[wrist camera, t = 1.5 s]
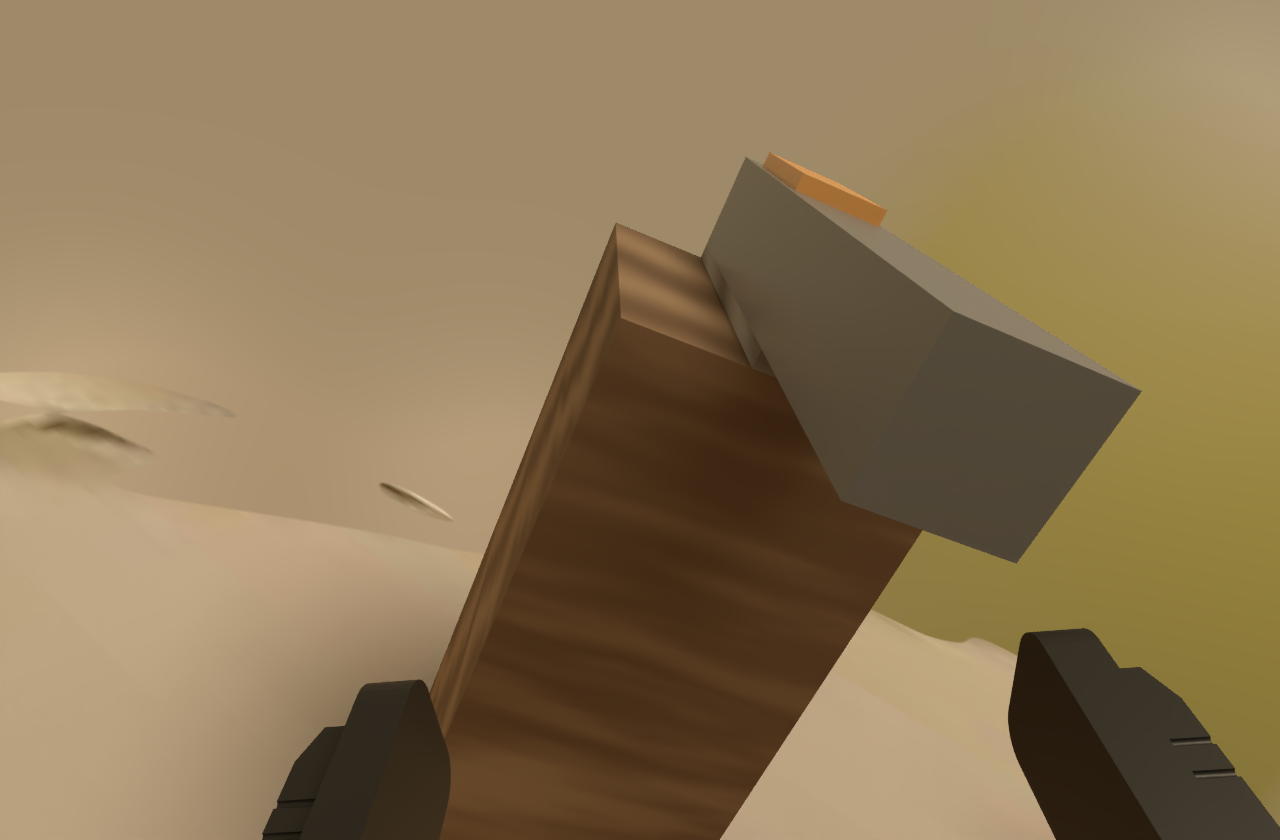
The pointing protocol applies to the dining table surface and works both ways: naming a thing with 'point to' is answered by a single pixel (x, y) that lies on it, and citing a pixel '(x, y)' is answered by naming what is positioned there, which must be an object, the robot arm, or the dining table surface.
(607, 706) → the stand
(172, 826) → the dining table surface
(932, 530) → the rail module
